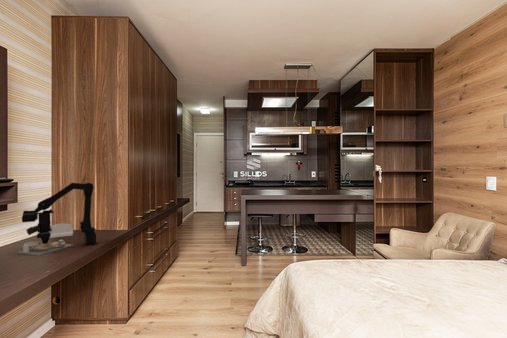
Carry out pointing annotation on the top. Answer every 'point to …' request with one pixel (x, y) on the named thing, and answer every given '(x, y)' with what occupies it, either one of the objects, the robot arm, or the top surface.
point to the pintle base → (30, 251)
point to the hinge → (61, 230)
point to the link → (49, 245)
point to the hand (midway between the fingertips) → (44, 246)
